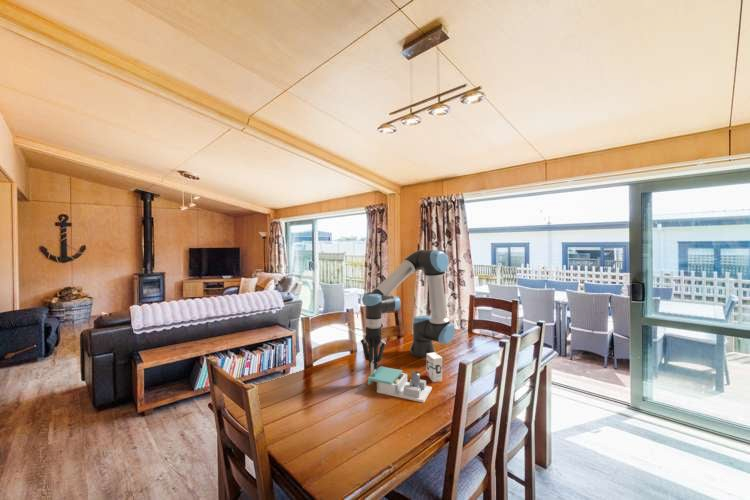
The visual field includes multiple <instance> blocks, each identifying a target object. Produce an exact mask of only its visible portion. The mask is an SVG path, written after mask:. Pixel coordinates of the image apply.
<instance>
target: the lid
mask: <svg viewBox="0 0 750 500" xmlns="http://www.w3.org/2000/svg"><path fill="white" fill-rule="evenodd" d="M401 373H404V372H403V370H402V369H398V368H394V367H393V368H392V367H386V366H383V365H381V366H379V367H377V369H376V371H375V372H374V373H373V374H372V375H371V374H370V375H369V376H368V377H367V385H372V383H374V382H375V383H377V382H381V383H385V384H390V385H392V384H393V382H394V381H395V380H396V379H397V378H398V377H399V376H400V375H401Z"/></svg>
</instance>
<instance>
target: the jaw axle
mask: <svg viewBox="0 0 750 500" xmlns="http://www.w3.org/2000/svg"><path fill="white" fill-rule="evenodd" d="M410 379H411V386H412V387H417V388H420V379H421V372H419V371H411V372H410Z"/></svg>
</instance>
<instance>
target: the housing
mask: <svg viewBox="0 0 750 500" xmlns="http://www.w3.org/2000/svg"><path fill="white" fill-rule="evenodd" d="M432 390H433V387H432V386H429V385H427V380H425V379H421V378H420V388H417V387H412V386H411V378H410V379H409V381H408V373H404V372H402V373H401V375H400V376H399V377H398V378H397V379H396V380H395V381H394V382H393V384H392V385H390V384H385V383H381V382H376V393H378V394H382V395H387V396H392V397H396V398H401V399H404V400H410V401H414V402H419V403H422V404H423V403H425V401H426V400H427V398H428V396H429V395H430V394H431V391H432Z"/></svg>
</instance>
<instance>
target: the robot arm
mask: <svg viewBox="0 0 750 500" xmlns="http://www.w3.org/2000/svg"><path fill="white" fill-rule="evenodd" d="M449 263H450V262H449V258H448V255H447V254H446V253H445V252H444V251H442V250H435V249H428V250H427V249H426V250H425V249H419V250H417V251H415V252H413V253H411V254H409V255H408V256H406V257H405V258H404V259H403V260H402V261H401V264H400V265H399V266H398V267H397V268H396V269H394V271H393V272H392V273H391V274H389V275H388V277H386V278H385V279H384V280H383V281H382V282H381V283H380V284H379V285H378V286H377V287H376V288H375V289H373V290H372V291H370V292H365V293H364V294H363V295H362V299H361V300H362V301H361V302H362V303H363V305H364V306H365V337H364V338H362V339H361V340H360V344H361V345H362V349H363V354H364V359H365V360H366V361H368V367H369V369H370V375H372V374H373V373H374V372H375V371H376V370H377V369H378V368H379V367H378V366H379V365H378V363H379V362H381V361H382V358H383V355H384V354H383V353H384V350H385V346H386V345H387V342H386V341H384V340H383V338H382V314H384V313H390V312H395V311H399V309H401V305H402V303H401V299H400V297H399V296H397V295H391V293H393V292H394V291H395V289H397V288H398V287H399V286H400V285H401V284H402V283H403V282H404V281H405V280H406V279H407V278H409V276H410V275H413V274H415V273H416V272H417V271H423V274H424V276H425V277H426V278H427V285H428V294H429V295H428V296H429V305H430V307H429V308H430V314H431V315H418V316H415V317H414V318H413V320H412V322H413V323H412V336H413V337H412V342H411V346H410V348H409V349H410V350H409V353H410V355H411V356H413V357H416V358H424V359H425V358H426V359H427V353H433V352H435V353H436V350H435V347H434V343H433V341H434V342H436V343H439V344H444V345H447V344H449V343H450V342H452V340H453V338H454V337H455V333H456V329H455V326H454V325H453V324H451V322H450V321H451V320H450V318H449V317H448V316H447V307H446V299H445V298H446V297H445V288H444V287H445V286H444V278H443V276H445V274H446V271H447V270H448V268H449ZM389 295H390V296H389ZM379 345H380V347H379Z"/></svg>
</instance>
